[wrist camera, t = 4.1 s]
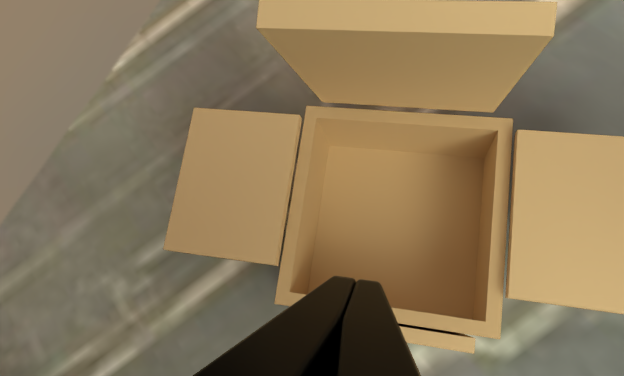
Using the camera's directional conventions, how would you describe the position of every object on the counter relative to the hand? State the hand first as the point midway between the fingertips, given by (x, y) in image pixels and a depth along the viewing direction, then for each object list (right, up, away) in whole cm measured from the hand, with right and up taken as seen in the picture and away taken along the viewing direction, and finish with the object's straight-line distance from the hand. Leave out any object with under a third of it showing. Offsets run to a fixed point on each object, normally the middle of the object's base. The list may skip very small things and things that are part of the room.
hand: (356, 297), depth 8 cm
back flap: (+3, +5, +10) cm, 12 cm away
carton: (+3, 0, +13) cm, 14 cm away
